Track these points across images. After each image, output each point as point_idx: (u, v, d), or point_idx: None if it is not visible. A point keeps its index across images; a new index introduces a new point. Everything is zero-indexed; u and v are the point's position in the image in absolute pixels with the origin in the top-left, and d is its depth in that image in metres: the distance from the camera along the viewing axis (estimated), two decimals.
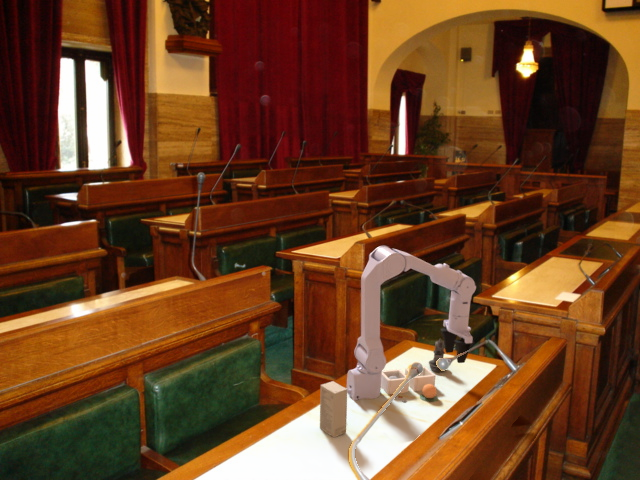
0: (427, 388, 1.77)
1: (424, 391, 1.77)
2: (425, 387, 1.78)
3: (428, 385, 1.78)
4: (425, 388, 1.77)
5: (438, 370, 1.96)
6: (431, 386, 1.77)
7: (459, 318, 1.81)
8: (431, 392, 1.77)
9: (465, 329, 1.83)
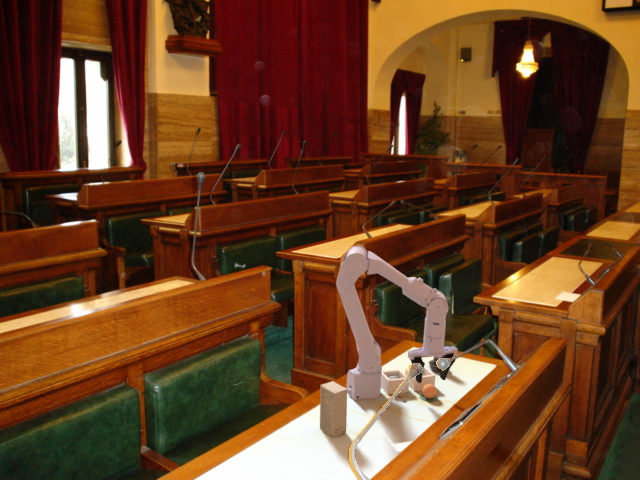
0: (427, 388, 1.77)
1: (424, 391, 1.77)
2: (425, 387, 1.78)
3: (428, 385, 1.78)
4: (425, 388, 1.77)
5: (438, 370, 1.96)
6: (431, 386, 1.77)
7: None
8: (431, 392, 1.77)
9: (426, 350, 1.74)
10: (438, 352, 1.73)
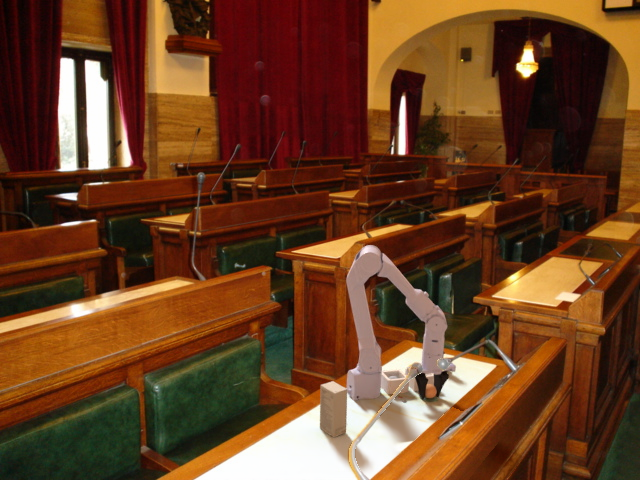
0: (427, 388, 1.77)
1: None
2: None
3: (428, 385, 1.78)
4: None
5: None
6: (431, 386, 1.77)
7: (422, 352, 1.76)
8: (431, 392, 1.77)
9: (425, 367, 1.75)
10: (436, 369, 1.74)
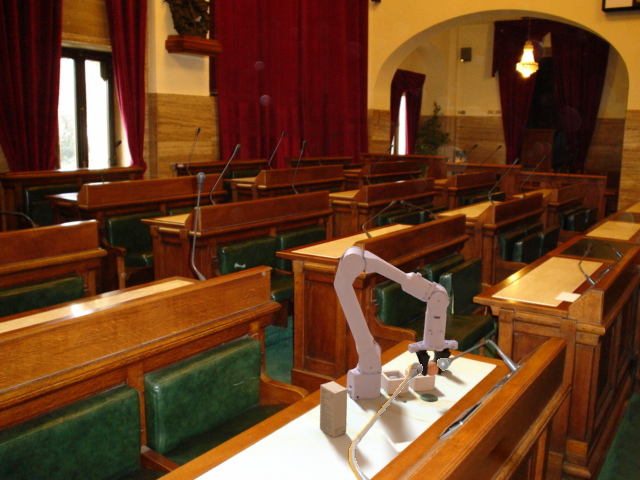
0: (429, 365, 1.76)
1: None
2: None
3: (430, 362, 1.76)
4: None
5: None
6: (433, 363, 1.76)
7: (424, 329, 1.75)
8: (433, 369, 1.75)
9: (427, 344, 1.73)
10: (438, 346, 1.73)
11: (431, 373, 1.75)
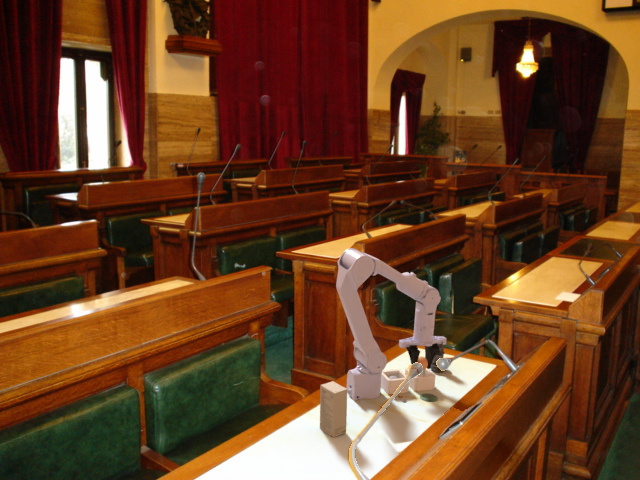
0: (418, 360, 1.84)
1: None
2: None
3: (420, 357, 1.84)
4: None
5: (438, 370, 1.96)
6: (423, 358, 1.84)
7: (414, 325, 1.83)
8: (423, 363, 1.83)
9: (416, 339, 1.82)
10: (428, 341, 1.81)
11: None
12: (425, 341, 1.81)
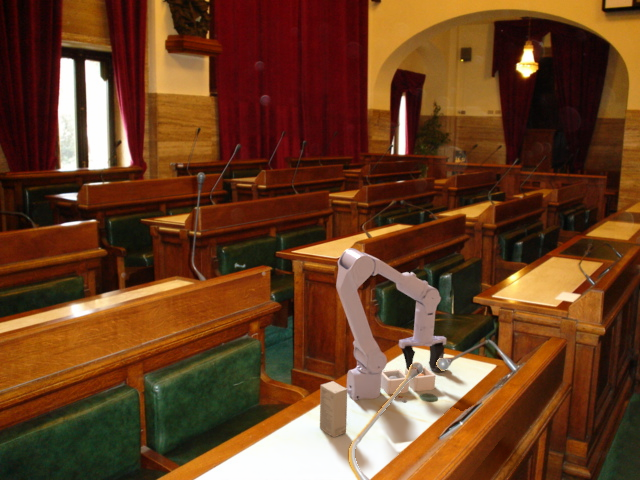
0: None
1: None
2: None
3: None
4: None
5: (438, 370, 1.96)
6: (421, 375, 1.85)
7: (414, 325, 1.83)
8: None
9: (416, 339, 1.82)
10: (428, 341, 1.81)
11: None
12: (425, 341, 1.81)
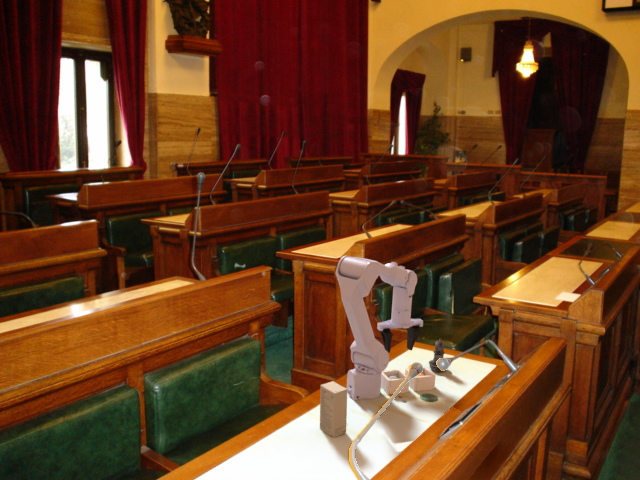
0: None
1: None
2: None
3: None
4: None
5: (438, 370, 1.96)
6: (421, 375, 1.85)
7: (392, 308, 1.88)
8: None
9: (394, 322, 1.86)
10: (405, 323, 1.86)
11: None
12: (403, 323, 1.86)
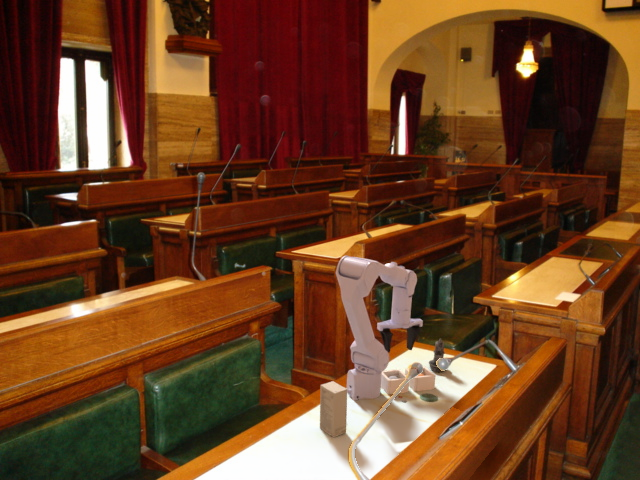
0: None
1: None
2: None
3: None
4: None
5: (438, 370, 1.96)
6: (421, 375, 1.85)
7: None
8: None
9: (394, 322, 1.87)
10: (405, 323, 1.86)
11: None
12: (402, 323, 1.86)
